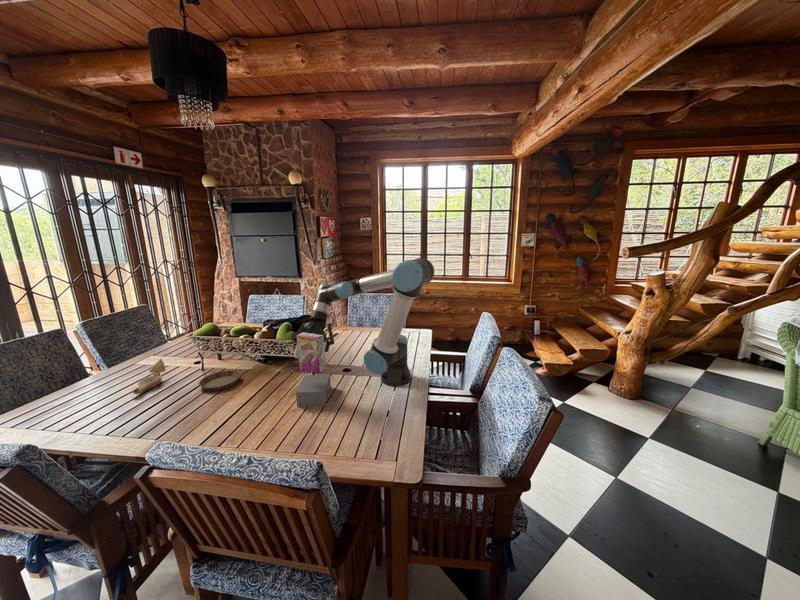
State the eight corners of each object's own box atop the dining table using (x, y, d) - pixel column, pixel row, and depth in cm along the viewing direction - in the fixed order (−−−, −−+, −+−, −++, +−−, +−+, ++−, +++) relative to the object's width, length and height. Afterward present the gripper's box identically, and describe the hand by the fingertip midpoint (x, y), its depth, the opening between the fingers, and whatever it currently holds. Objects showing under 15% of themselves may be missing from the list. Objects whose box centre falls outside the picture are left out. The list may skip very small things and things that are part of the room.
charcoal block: (330, 387, 152) (329, 374, 150) (325, 406, 136) (324, 391, 135) (305, 388, 151) (304, 375, 150) (297, 407, 136) (295, 392, 134)
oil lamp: (173, 376, 164) (169, 358, 162) (145, 397, 144) (140, 377, 141) (155, 377, 164) (151, 359, 161) (124, 399, 143) (119, 378, 141)
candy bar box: (298, 370, 141) (295, 335, 137) (305, 365, 145) (302, 331, 141) (319, 374, 137) (317, 338, 133) (326, 369, 141) (324, 334, 138)
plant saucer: (191, 387, 153) (190, 382, 152) (226, 373, 168) (225, 367, 167) (214, 396, 145) (213, 390, 144) (248, 380, 160) (247, 374, 159)
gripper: (346, 318, 150) (337, 362, 139) (298, 316, 153) (286, 359, 142) (342, 310, 143) (333, 356, 132) (292, 309, 146) (279, 353, 135)
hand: (308, 358), depth 137 cm, fingers closed on candy bar box, 12 cm apart
